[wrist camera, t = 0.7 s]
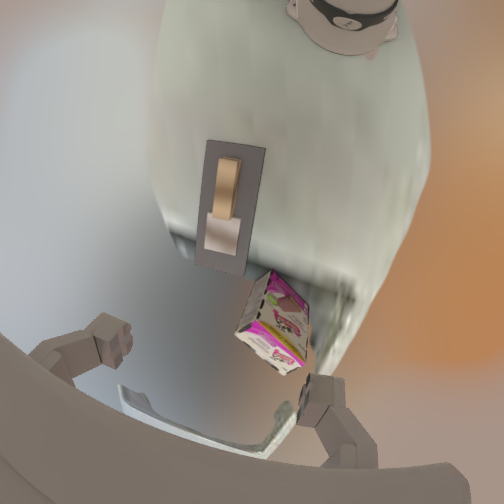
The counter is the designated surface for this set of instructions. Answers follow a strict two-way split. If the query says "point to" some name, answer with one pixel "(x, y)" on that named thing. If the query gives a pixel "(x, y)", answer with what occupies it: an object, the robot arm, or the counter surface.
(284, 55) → the counter surface
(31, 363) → the robot arm
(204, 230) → the mat
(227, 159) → the wooden handled scraper
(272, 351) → the candy bar box
